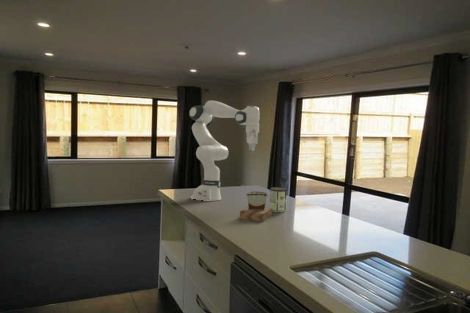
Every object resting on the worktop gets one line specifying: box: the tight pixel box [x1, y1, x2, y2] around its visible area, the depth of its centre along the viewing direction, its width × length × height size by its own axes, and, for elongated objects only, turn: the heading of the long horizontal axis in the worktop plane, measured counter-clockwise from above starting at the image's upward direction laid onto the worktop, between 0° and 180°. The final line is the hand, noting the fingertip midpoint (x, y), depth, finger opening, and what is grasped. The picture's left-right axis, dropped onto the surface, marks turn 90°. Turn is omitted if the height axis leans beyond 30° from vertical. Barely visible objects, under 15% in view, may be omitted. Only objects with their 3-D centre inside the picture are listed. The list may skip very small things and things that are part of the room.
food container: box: [246, 190, 268, 210], centre depth 203 cm, size 12×6×10 cm, turn 91°
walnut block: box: [239, 206, 273, 223], centre depth 201 cm, size 14×16×5 cm
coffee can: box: [269, 186, 287, 213], centre depth 220 cm, size 10×10×14 cm
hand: (251, 150), depth 232 cm, fingers open, 8 cm apart
